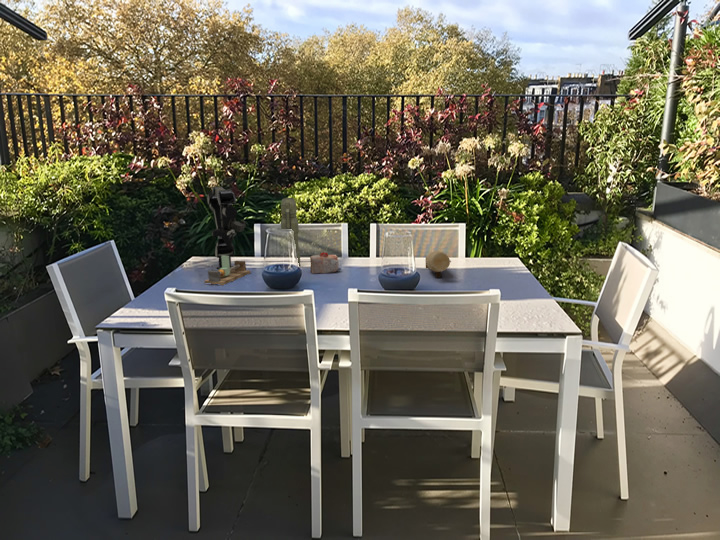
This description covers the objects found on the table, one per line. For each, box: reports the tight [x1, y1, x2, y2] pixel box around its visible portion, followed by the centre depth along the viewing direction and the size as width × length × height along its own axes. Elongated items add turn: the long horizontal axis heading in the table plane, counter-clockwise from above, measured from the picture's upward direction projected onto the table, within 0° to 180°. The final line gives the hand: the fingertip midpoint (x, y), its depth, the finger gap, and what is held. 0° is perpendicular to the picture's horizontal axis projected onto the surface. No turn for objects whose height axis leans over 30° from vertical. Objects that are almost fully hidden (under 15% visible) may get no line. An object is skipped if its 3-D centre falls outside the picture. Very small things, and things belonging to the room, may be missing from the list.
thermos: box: [280, 197, 301, 267], centre depth 306 cm, size 9×12×35 cm
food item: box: [309, 251, 340, 275], centre depth 295 cm, size 14×8×10 cm, turn 100°
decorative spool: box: [425, 250, 452, 278], centre depth 284 cm, size 10×12×30 cm
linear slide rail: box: [204, 260, 251, 286], centre depth 287 cm, size 24×10×6 cm, turn 159°
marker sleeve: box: [218, 255, 230, 276], centre depth 284 cm, size 4×3×9 cm
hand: (229, 247), depth 294 cm, fingers closed
